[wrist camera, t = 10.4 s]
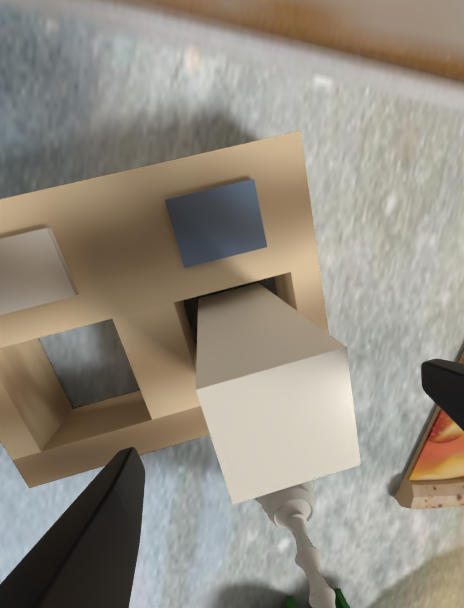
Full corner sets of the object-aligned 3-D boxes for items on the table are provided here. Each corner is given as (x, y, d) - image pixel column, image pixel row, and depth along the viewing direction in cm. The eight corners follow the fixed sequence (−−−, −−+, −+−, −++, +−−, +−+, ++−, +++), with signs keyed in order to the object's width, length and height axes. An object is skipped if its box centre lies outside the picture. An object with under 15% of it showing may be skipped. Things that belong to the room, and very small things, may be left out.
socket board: (312, 367, 18) (340, 399, 14) (62, 439, 17) (25, 493, 13) (276, 156, 14) (302, 127, 11) (-47, 231, 13) (-141, 228, 10)
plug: (270, 338, 17) (360, 464, 8) (214, 353, 17) (233, 505, 7) (258, 282, 16) (346, 346, 6) (198, 298, 16) (195, 389, 6)
